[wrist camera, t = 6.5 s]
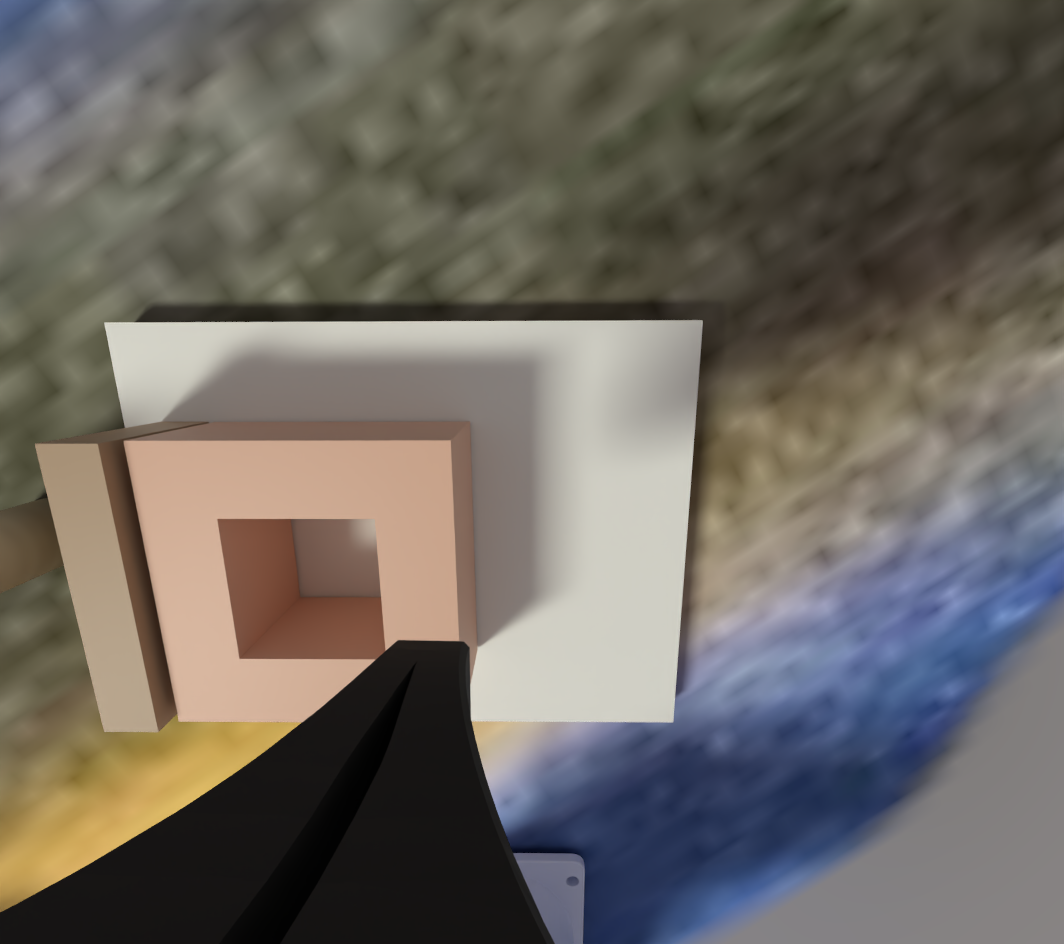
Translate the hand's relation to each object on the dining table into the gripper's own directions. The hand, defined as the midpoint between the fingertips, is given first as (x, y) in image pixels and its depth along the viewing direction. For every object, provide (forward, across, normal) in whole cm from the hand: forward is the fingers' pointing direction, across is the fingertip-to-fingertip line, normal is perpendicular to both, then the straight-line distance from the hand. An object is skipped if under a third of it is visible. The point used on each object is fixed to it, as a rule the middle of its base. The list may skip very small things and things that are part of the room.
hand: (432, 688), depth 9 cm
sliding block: (+7, +4, 0) cm, 8 cm away
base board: (+8, +2, 0) cm, 9 cm away
